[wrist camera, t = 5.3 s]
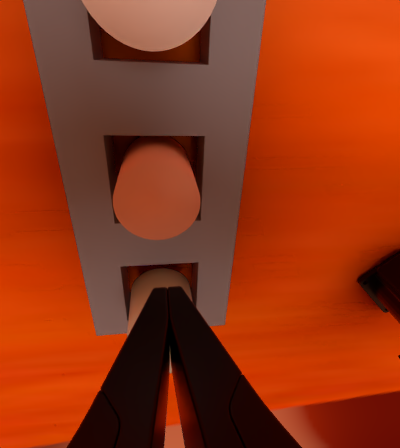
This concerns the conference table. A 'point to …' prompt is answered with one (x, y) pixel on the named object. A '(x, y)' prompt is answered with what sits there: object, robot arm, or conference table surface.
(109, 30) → the button offwhite
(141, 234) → the button terracotta
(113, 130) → the button board
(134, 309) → the button sage
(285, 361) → the conference table surface
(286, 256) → the conference table surface
